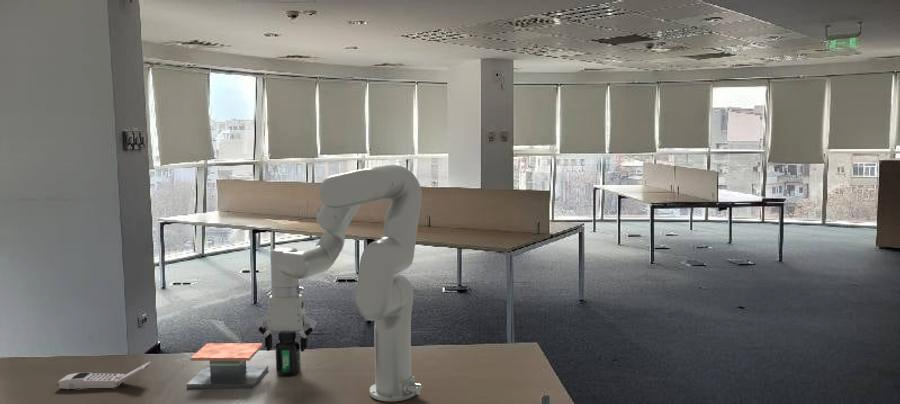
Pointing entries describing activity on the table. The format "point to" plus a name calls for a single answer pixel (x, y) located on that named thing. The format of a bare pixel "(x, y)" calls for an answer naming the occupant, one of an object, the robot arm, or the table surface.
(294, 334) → the supplement bottle
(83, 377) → the mobile phone
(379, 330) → the robot arm
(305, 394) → the table surface
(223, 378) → the stand
